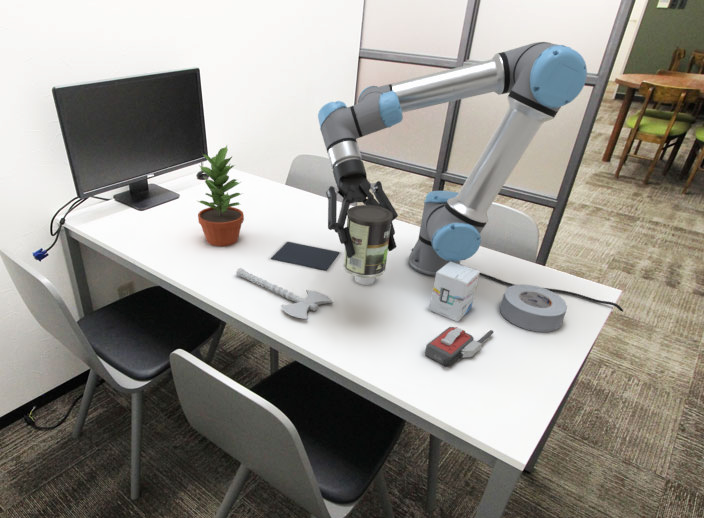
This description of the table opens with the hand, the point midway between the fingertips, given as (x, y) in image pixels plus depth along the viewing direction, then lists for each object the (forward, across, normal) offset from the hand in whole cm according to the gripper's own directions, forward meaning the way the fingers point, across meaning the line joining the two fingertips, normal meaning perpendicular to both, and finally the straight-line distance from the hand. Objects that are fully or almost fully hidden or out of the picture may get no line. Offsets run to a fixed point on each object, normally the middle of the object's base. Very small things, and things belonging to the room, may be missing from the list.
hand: (372, 252), depth 115 cm
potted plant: (-27, +22, -55) cm, 65 cm away
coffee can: (+2, 0, -6) cm, 6 cm away
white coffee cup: (0, -10, -28) cm, 30 cm away
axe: (0, +16, -28) cm, 33 cm away
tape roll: (+22, -43, -6) cm, 49 cm away
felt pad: (-14, 0, -41) cm, 44 cm away
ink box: (+16, -24, -13) cm, 32 cm away
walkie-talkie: (+26, -16, -2) cm, 31 cm away
